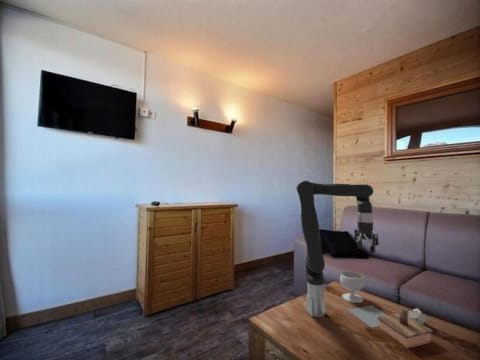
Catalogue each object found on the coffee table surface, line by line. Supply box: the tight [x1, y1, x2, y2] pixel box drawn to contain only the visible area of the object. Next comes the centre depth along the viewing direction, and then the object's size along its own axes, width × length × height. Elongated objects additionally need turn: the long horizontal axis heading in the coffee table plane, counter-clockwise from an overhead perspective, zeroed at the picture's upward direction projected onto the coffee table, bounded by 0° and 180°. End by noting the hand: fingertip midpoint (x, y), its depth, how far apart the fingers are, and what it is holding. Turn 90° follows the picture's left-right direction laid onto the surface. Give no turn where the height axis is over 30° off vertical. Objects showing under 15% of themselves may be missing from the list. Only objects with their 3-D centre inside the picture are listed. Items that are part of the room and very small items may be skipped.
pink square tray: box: [379, 320, 432, 349], centre depth 107 cm, size 14×14×4 cm
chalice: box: [339, 270, 365, 304], centre depth 142 cm, size 14×14×15 cm
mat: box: [347, 305, 387, 328], centre depth 123 cm, size 17×17×1 cm
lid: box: [378, 308, 433, 339], centre depth 107 cm, size 15×15×7 cm
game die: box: [407, 306, 429, 326], centre depth 115 cm, size 9×8×10 cm
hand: (366, 250), depth 122 cm, fingers open, 8 cm apart
